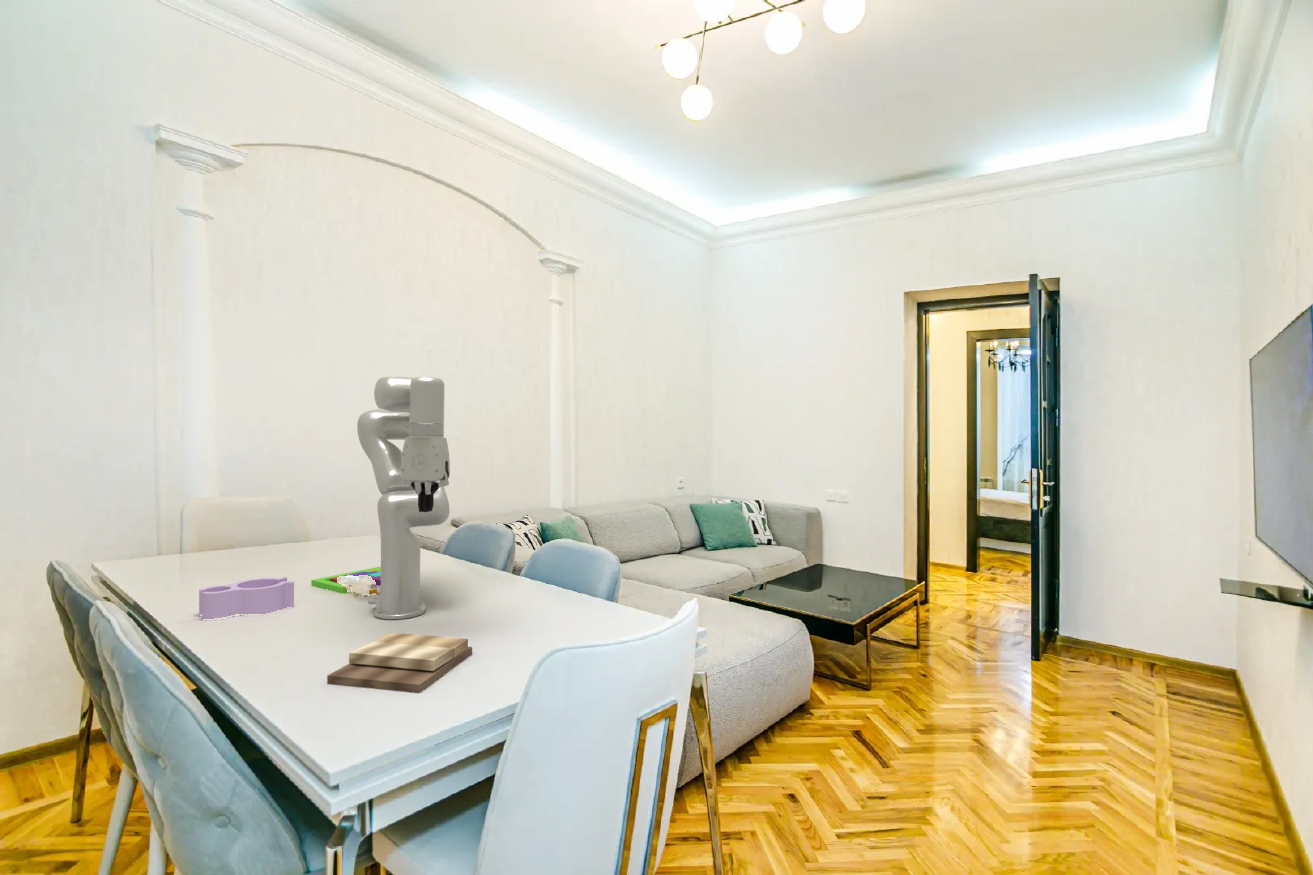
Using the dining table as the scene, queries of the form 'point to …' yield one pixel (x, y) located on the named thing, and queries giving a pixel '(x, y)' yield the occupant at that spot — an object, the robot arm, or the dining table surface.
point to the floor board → (401, 676)
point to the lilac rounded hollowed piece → (246, 597)
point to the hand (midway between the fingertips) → (425, 511)
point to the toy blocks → (332, 583)
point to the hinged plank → (401, 655)
